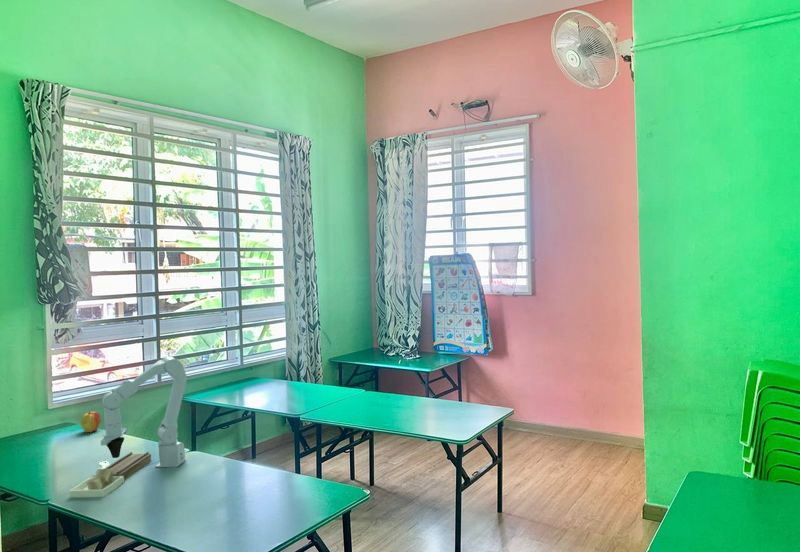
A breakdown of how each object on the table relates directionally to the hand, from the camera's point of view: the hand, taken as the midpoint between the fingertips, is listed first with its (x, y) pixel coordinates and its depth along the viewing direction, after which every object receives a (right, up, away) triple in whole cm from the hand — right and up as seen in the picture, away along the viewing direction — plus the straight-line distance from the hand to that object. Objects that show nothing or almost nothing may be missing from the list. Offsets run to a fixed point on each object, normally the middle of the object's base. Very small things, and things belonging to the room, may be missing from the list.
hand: (115, 457), depth 225 cm
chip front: (-1, -5, -11) cm, 12 cm away
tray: (-1, -8, -12) cm, 15 cm away
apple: (-44, -7, +63) cm, 77 cm away
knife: (-12, -9, +11) cm, 19 cm away
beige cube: (0, -6, -8) cm, 10 cm away
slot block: (+1, -7, +6) cm, 10 cm away
